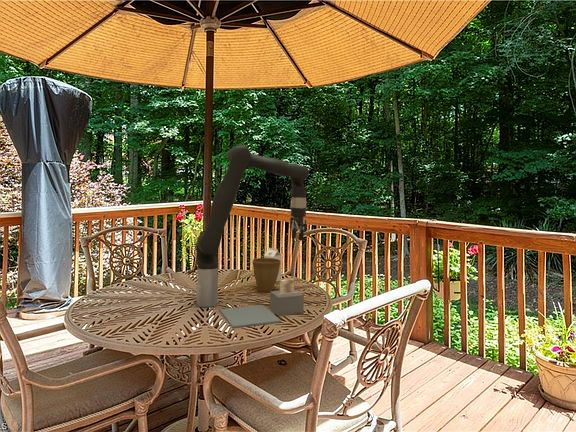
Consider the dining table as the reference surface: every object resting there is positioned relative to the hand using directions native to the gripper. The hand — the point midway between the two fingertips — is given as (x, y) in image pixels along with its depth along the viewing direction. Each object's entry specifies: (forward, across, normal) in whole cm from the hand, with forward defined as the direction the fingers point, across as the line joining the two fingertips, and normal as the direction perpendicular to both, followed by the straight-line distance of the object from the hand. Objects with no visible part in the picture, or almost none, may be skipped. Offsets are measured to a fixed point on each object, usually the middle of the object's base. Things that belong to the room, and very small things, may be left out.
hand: (297, 239), depth 201 cm
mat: (+29, +21, -31) cm, 48 cm away
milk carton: (+29, -32, 0) cm, 44 cm away
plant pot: (+29, -16, -10) cm, 35 cm away
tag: (+27, +20, -13) cm, 36 cm away
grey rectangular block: (+29, +20, -13) cm, 37 cm away
